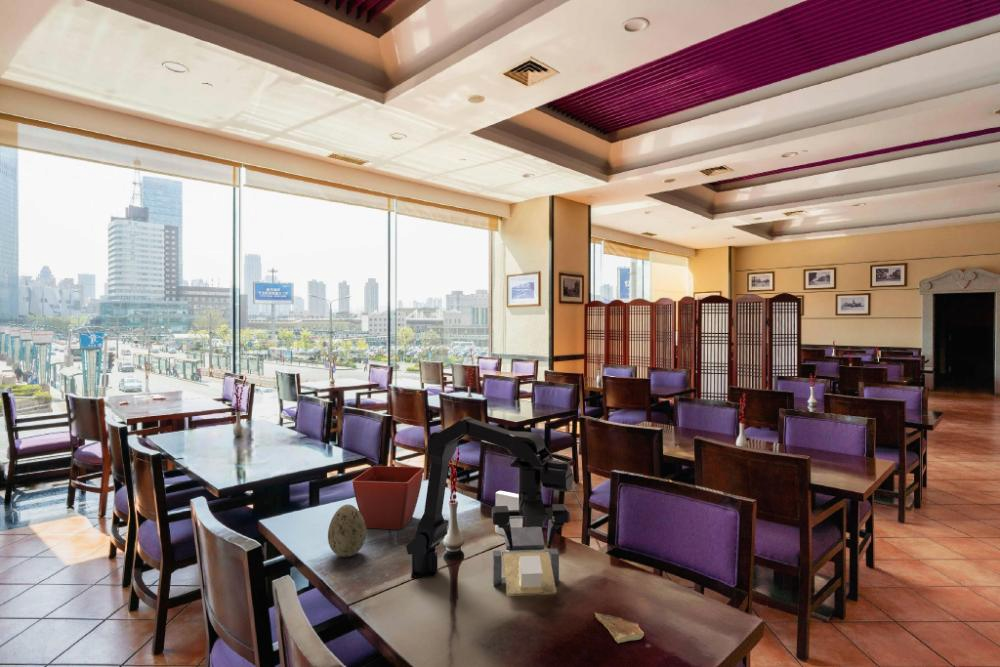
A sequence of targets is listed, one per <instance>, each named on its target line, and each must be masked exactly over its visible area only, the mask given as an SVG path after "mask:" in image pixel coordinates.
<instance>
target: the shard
mask: <svg viewBox="0 0 1000 667" xmlns="http://www.w3.org/2000/svg"><path fill="white" fill-rule="evenodd" d="M594 614H595V618H596V619H597V620H598V621H599V623H600V624H602V625H603V626H604V627H605V629H607V631H608V632H609V634H610V635H611V637H612V638H613V639H614V640H615V642H616V643H617V644H620V643H625V642H629V641H637V640H641V639H643V637H644V635H645V633H644V631H643V630H642V629H641V628H640V626H639V623H637V622H635V621H631V620H629V619H628V620H627V619H625V618H621V617H617V616H614V615H609V614H605V613H601V612H598V611H594Z"/></svg>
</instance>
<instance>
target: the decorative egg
mask: <svg viewBox="0 0 1000 667" xmlns="http://www.w3.org/2000/svg"><path fill="white" fill-rule="evenodd" d="M327 530H328V531H327V541H328V545H329V548H330V549H331V551H332V552H333V553H334V554H335V555H336V556H338V557H341V558H349V557H352V556H355V555H356V554H357V553H359V551H360V550H361V549H362V548H363V546H364V544H365V541H366V538H367V528H366V525H365V522H364V519H363V517H362V515H361V513H360V512H359V509H357V508H356V507H355V506H354V505H352V504H349V503H348V504H344V505H341V506H339V508H337V510H336V511H335V513H334V514H333V516H332V518H331V520H330V523H329V527H328V529H327Z"/></svg>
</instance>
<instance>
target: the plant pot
mask: <svg viewBox="0 0 1000 667" xmlns="http://www.w3.org/2000/svg"><path fill="white" fill-rule="evenodd" d="M423 474H424V467H421V466H419V467H417V466H394V465H391V466H390V465H374V466H371V467H370V468H368V469H367V470H365V471H363V472H362V473H361V474H359V475H358V476H356V477H355V478H354V479H352V481H351V482H352V487H353V493H354V497H355V501H356V504H357V508H358V509H357V510H358V511H359V512H360V513H361V515H362V517H363V519H364V522H365V525H366V529H376V530H377V529H378V530H379V529H381V530H399V531H400V530H402V529H404V527H405V526H406V525H407V524H408V523H409V522H410V520H412V519H413V517H414V514H415V511H416V507H417V504H418V500H419V496H420V492H421V489H422V488H421V487H422V482H423V476H424V475H423Z"/></svg>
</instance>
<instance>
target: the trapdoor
mask: <svg viewBox="0 0 1000 667" xmlns="http://www.w3.org/2000/svg"><path fill="white" fill-rule="evenodd" d="M511 535H512V543H513V550H511V549H510V545H509V542H508V539H507V536H506V533H505V534H504V535H503V536H504V545H505V550H502V551H501V555H502V559H503V560H502V561H503V569H504V578H505V581H506V586H505V591H506V592H505V593H506V596H507V597H510V596H513V597H514V596H515V597H517V596H538V595H540V596H541V595H556V594H557V588H556V584H555V582H554V577H553V571H552V566H551V561H550V555H549V554H550V551H549V549H548V548H545V540H544V535H543V528H542V527H538V526H532V527H526V526H522V527H514V528H511ZM520 556H540V561H541V567H542V582H541V587H526V588H521V587H520V579H519V570H518V569H519V557H520Z"/></svg>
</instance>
